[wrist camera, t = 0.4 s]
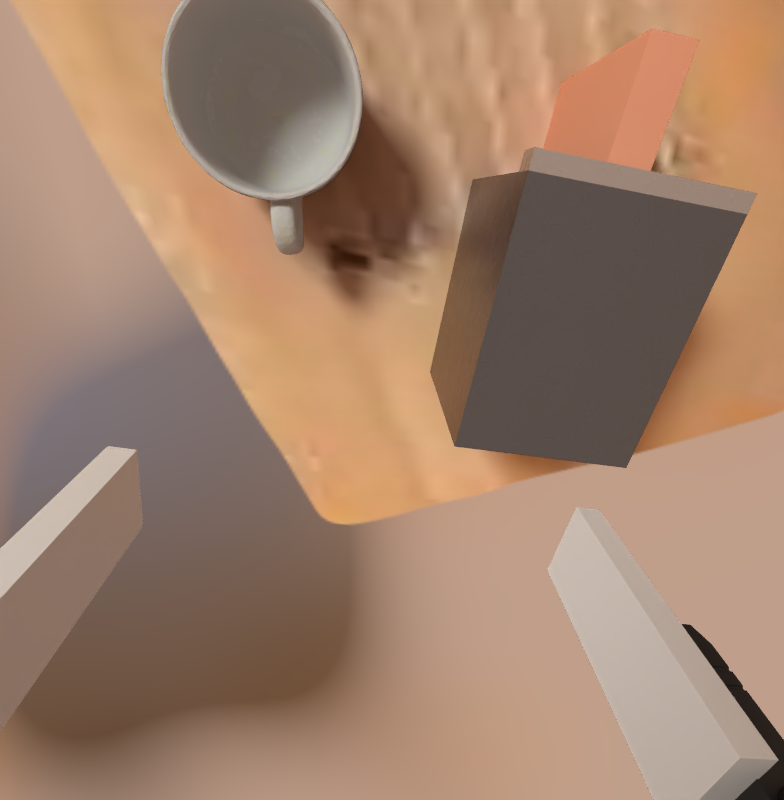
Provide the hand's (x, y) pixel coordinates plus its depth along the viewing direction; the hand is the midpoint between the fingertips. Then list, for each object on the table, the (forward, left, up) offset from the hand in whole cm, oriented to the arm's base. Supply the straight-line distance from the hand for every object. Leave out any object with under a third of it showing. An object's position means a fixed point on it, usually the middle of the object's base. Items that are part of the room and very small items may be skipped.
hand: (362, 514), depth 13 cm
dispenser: (-3, +12, -26) cm, 29 cm away
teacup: (-11, -8, -27) cm, 30 cm away
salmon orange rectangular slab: (-12, +12, -26) cm, 32 cm away
